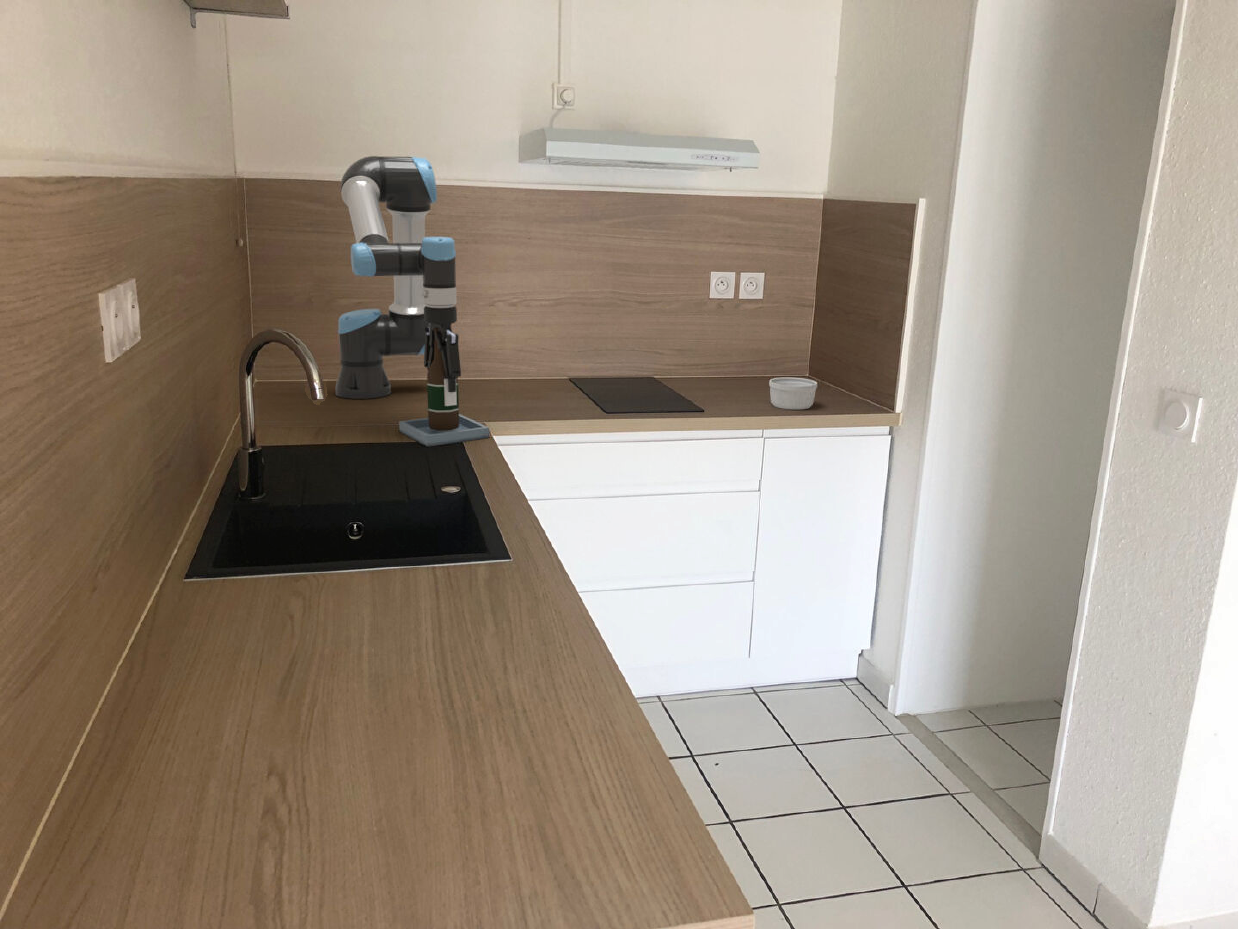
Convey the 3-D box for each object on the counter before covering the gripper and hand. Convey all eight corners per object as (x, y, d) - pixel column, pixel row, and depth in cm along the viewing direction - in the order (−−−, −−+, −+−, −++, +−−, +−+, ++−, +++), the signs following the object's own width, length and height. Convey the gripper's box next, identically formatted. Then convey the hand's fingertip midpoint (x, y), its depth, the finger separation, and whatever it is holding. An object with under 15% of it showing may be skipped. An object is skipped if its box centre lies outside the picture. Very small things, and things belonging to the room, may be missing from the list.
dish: (399, 431, 237) (399, 421, 236) (459, 423, 246) (459, 413, 245) (427, 446, 224) (426, 436, 224) (489, 437, 233) (489, 427, 232)
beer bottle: (453, 431, 230) (450, 330, 223) (422, 429, 232) (418, 328, 225) (464, 424, 237) (462, 325, 231) (434, 422, 239) (431, 323, 232)
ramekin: (769, 399, 281) (770, 375, 279) (815, 402, 279) (817, 378, 277) (766, 409, 269) (768, 384, 267) (815, 412, 266) (817, 387, 264)
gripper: (407, 301, 232) (410, 395, 239) (444, 311, 216) (447, 412, 223) (436, 299, 236) (439, 391, 243) (475, 309, 220) (476, 408, 227)
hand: (443, 401), depth 233 cm, fingers closed on beer bottle, 8 cm apart
